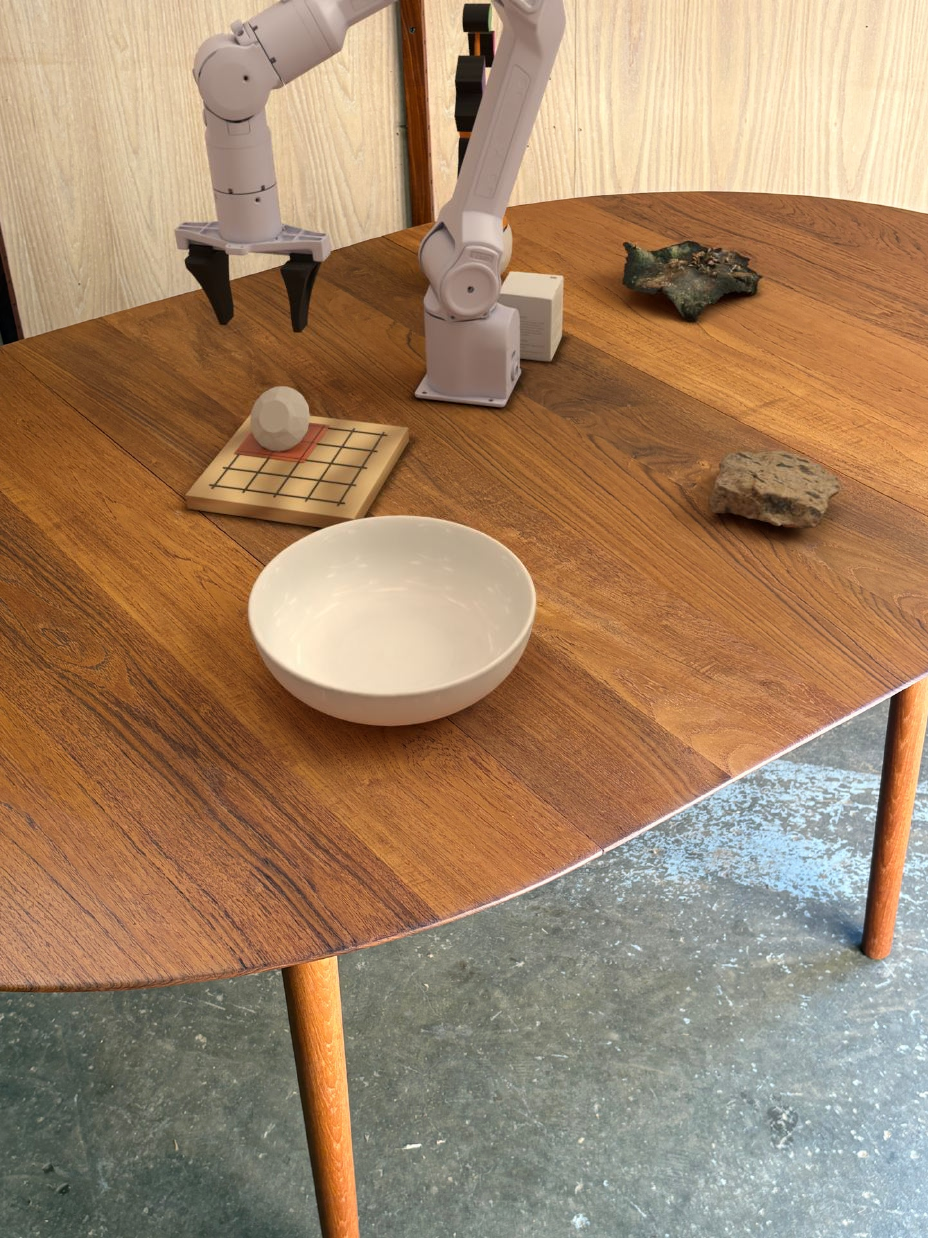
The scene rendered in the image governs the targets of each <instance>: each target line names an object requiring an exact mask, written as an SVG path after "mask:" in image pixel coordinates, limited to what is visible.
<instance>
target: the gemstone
mask: <svg viewBox="0 0 928 1238" xmlns="http://www.w3.org/2000/svg"><path fill="white" fill-rule="evenodd" d="M250 414H251V422H250V426H251V429H252V432H253V435H254V438H255V439H256V440H257V441H258V443H259V444H260V445H261V446H263V447H264V448H266V449H268V450H272V451H278V452H280V451H284V450H288V449H291V448H293V447H294V446H295V445H296V444H298V443H299V442H301V440H302V438H303V437H304V435H305V434H306V432H307V431H308V425H309V421H310V416H311V414H310V406H309V404H308V402H307V401H306V399H305V397H304V395H303V394H302V393H300V392H299V391H298V390H296V389H294V388H292V387H290V386H284V385H283V386H282V385H281V386H273V387H272V388H269V389H268V390H266V391H264V392H263V393H261V395H260V396H259V397H258V398H257V399H255V401H254V404H253V406H252V409H251V411H250Z"/></svg>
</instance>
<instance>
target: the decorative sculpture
mask: <svg viewBox="0 0 928 1238" xmlns="http://www.w3.org/2000/svg"><path fill="white" fill-rule="evenodd" d="M492 17H493V8H492V2H491V3H487V2H486V3H483V2H482V3H479V2H478V3H467V2H466V3H464V4H463V7H462V16H461V18H462V19H461V24H462V25H461V27H462V32H463V33H467V43H468V54H467V55H466V54H465V55H463V54H461V55H458V56H457V63H456V68H455V74H454V75H455V76H454V87H455V102H454V113H453V114H454V122H455V127H456V132H457V133H458V134H459V138H458V145H457V146H458V147H457V171H456V172H457V177H456V180H458V177H459V173H460V170H461V167H462V163H463V160H464V157H465V153H466V150H467V147H468V143H469V140H470V137H471V133H472V130H473V127H474V124H475V120H476V117H477V114H478V110H479V107H480V104H481V100H482V97H483V94H484V90H485V87H486V84H487V79H486V78H487V77H486V68H490V69H491V67H492V64H493V60H494V57H495V54H496V51H495V49H496V46H495V45H496V31H495V30H492V19H493V18H492ZM503 238H504V253H503V256H502V259H501V263H500V276H501V275H503V274H504V273H505V271H506V270H507V267H508V265H509V263H510V261H511V259H512V254H513V253H512V252H513V233H512V229H511V225H510V223H509V220H508V218H507V216H506V214H504V218H503Z"/></svg>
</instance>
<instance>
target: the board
mask: <svg viewBox="0 0 928 1238" xmlns="http://www.w3.org/2000/svg"><path fill="white" fill-rule="evenodd" d="M250 422H251V413H250V414H249V415H248V417H247V418H246V419H245V420H244V422H243V423H242V424H241V425H240V427H239V428H238V429H237V430H236V431H235V433H234V434H233V435H232V436H231V438H230V439H229V440H228V441H227V443H226V444H225V445H224V446H223V448H222V449H221V450H220V451H219V452H218V453H217V455H216V456H215V457H214V459H213V460H212V461H211V462H210V464H209V465H208V466H207V467H206V468H205V470H204V471H203V472H202V474H201V475H200V476H199V477H198V478H197V479H196V480H195V482H194V483H193V484H192V486H191V487H190V488H189V489H188V491H187V492H186V493H185V495H184V496H185V502H186V507H187V509H188V510H194V511H202V512H207V513H215V514H223V515H229V516H237V517H243V518H250V519H257V520H265V521H272V522H280V523H287V524H292V525H299V526H307V527H314V528H320V529H324V528H327V527H330V526H333V525H336V524H340V523H343V522H348V521H352V520H357V519H363V518H365V516H366V514H367V513H368V511H369V509H370V508H371V506H372V504H373V503H374V501H375V499H376V498H377V497H378V494H379V492H380V491H381V489H382V487H383V486H384V484H385V483H386V481H387V479H388V477H389V475H390V474H391V472H392V470H393V468H394V467H395V465H396V464H397V462H398V460H399V458H400V457H401V455H402V454H403V452H404V450H405V448H406V447H407V445H408V443H409V442H410V434H409V433H410V432H409V431H410V429H409V427H407V426H399V425H391V424H390V425H389V424H382V423H373V422H367V421H366V422H365V421H357V420H351V419H350V420H348V419H341V418H334V417H333V418H332V417H325V416H324V417H323V416H317V415H310V421H309V425H308V431H307V432H306V434H305V435H304V437H303V438H302V440H301V442H299V443H298V444H296V445H295V446H294V447H293V448H291V449H288V450H284V451H280V452H278V451H272V450H268V449H266V448H264V447H263V446H261V445H260V444H259V443H258V441H257V440H256V439H255V438H254V435H253V432H252V429H251V426H250Z"/></svg>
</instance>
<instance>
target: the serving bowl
mask: <svg viewBox="0 0 928 1238" xmlns="http://www.w3.org/2000/svg"><path fill="white" fill-rule="evenodd" d="M536 591H537V590H536V588H535V585H534V581H533V578H532V576H531V574H530V572H529V570H527V567H526V566H525V565H524V564H523V562H522V561H521V560H520V558H518V557H517V555H516V554H515V553H514V552H513V551H512V550H510V549H509V548H508V547H506V545H504V544H503V543H501V542H500V541H498V540H496V539H495V538H493V537H492V536H490V535H488V534H486V533H484V532H482V531H479V530H477V529H474V528H472V527H470V526H468V525H464V524H461V523H457V522H454V521H451V520H446V519H440V518H436V517H430V516H418V515H382V516H371V517H364V518H363V519H357V520H352V521H348V522H343V523H340V524H336V525H333V526H330V527H327V528H320V529H319V530H316V531H314V532H311V533H310V534H307V535H306V536H304V537H302V538H300V539H298V540H297V541H295V542H293V543H292V544H290V545H289V546H287V547H286V548H284V549H283V550H282V551H280V552H279V553H278V554H277V555H276V556H275V557H273V558H272V559H271V560H270V561H269V562H268V563H267V565H265V567H263V569H262V571H261V572H260V573H259V575H258V576H257V577H256V580H255V581H254V583H253V586H252V588H251V590H250V593H249V597H248V602H247V619H248V625H249V629H250V633H251V637H252V638H253V641H254V644H255V647H256V649H257V651H258V653H259V656H260V658H261V659H262V661H263V662H264V664H265V666H266V668H267V670H268V671H269V672H270V673H271V675H272V676H273V677H274V678H275V680H276V681H277V682H278V683H279V684H280V685H281V686H282V687H283V688H284V689H285V690H286V691H287V692H289V693H290V694H291V695H292V696H293V697H295V698H296V699H298V700H299V701H300V702H302V703H304V704H305V705H307V706H309V707H311V708H313V709H315V710H316V711H319V712H321V713H323V714H325V715H328V716H331V717H334V718H336V719H340V720H344V721H346V722H351V723H356V724H361V725H362V724H363V725H369V726H380V727H382V726H384V727H397V726H409V725H417V724H423V723H426V722H432V721H435V720H439V719H442V718H445V717H448V716H451V715H453V714H457V713H458V712H460V711H463V710H464V709H466V708H468V707H470V706H472V705H474V704H476V703H477V702H479V701H480V700H482V699H484V698H485V697H487V695H489V694H491V692H493V691H494V690H495V689H496V688H497V687H498V686H500V685H501V684H502V683H503V682H504V681H505V679H506V678H507V677H508V676H509V675H510V674H511V672H513V670H514V669H515V667H516V666H517V664H518V662H519V661H520V659H521V657H522V656H523V654H524V652H525V650H526V648H527V645H528V642H529V641H530V637H531V634H532V630H533V626H534V623H535V617H536V614H537V613H536V612H537V593H536Z"/></svg>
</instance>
